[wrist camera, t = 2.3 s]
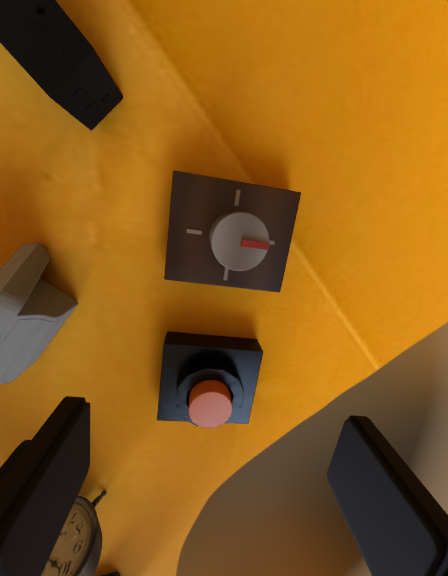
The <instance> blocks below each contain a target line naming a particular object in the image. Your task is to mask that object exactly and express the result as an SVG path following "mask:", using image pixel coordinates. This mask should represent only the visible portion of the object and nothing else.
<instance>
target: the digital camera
mask: <svg viewBox="0 0 448 576" xmlns="http://www.w3.org/2000/svg"><path fill="white" fill-rule="evenodd" d="M0 43H1V44H2V45H3V46H4V47H5V48H6V49H7V50H8V51H9V53H10V54H11V55H12V56H13V57H14V58H15V59H16V60H17V61H18V62H19V64H20V65H21V66H22V67H23V68H24V69H25V70H26V71H27V72H28V74H29V75H30V76H31V77H32V78H33V79H34V80H35V81H36V82H37V83H38V85H39V86H40V87H41V88H42V89H43V90H44V91H45V92H46V93H47V95H48V96H49V97H50V98H52V99H53V100H54V101H55V102H56V103H58V104H59V105H60V106H61V107H63V108H64V109H65V110H66V111H68V112H69V113H70V114H71V115H73V116H74V117H75V118H76V119H77V120H79V121H80V122H81V123H82V124H84V125H85V126H86V127H87V128H89V129H90V130H91V131H92V130H93V129H94V128H95V127H96V126H97V125H98V123H99V122H100V121H101V120H102V119H103V118H104V117H105V116H106V115H107V114H108V113H109V112H110V111H111V110H112V109H113V108H114V107H115V106H116V105H117V104H118V103H119V102H120V101H121V100H122V99H123V95H122V94H121V92H120V90H119V89H118V87H117V85H116V84H115V82H114V81H113V79H112V77H111V76H110V74H109V72H108V71H107V69H106V68H105V66H104V64H103V63H102V61H101V60H100V58H99V56H98V55H97V53H96V51H95V50H94V48H93V47H92V46H91V44H90V43H89V42H88V41H87V39H86V38H85V37H84V36H83V34H82V33H81V32H80V31H79V29H78V28H77V27H76V26H75V24H74V23H73V22H72V21H71V20H70V18H69V17H68V16H67V15H66V13H65V12H64V11H63V10H62V8H61V7H60V6H59V5H58V3H57V2H56V1H55V0H0Z"/></svg>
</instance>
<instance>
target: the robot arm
mask: <svg viewBox="0 0 448 576" xmlns="http://www.w3.org/2000/svg"><path fill="white" fill-rule="evenodd" d="M89 465H90V403H87V402H86V401H85V398H83V397H68V396H67V397H65V398H64V399H63V400H62V401H61V402H60V404H59V405H58V406H57V408H56V409H55V410H54V411H53V413H52V414H51V415H50V417H49V418H48V419H47V421H46V422H45V423H44V424H43V426H42V427H41V428H40V430H39V431H38V432H37V434H36V435H35V436H34V438H33V439H32V440H25V441H24V442H22V443H21V444H20V445H19V446H18V447H17V448H16V449H15V450H14V452H13V453H12V454H11V455H10V457H9V458H8V459H7V460H6V461H5V463H4V464H3V465H2V466H1V468H0V576H41V575H42V573H43V571H44V568H45V566H46V564H47V562H48V560H49V557H50V555H51V553H52V551H53V549H54V546H55V544H56V542H57V540H58V537H59V535H60V533H61V531H62V529H63V526H64V524H65V522H66V520H67V518H68V515H69V513H70V511H71V509H72V506H73V504H74V502H75V500H76V498H77V495H78V493H79V491H80V489H81V487H82V484H83V482H84V480H85V478H86V475H87V473H88V470H89ZM327 477H328V482H329V484H330V486H331V489H332V491H333V493H334V495H335V497H336V499H337V501H338V504H339V506H340V508H341V510H342V512H343V514H344V516H345V519H346V521H347V523H348V525H349V527H350V529H351V531H352V534H353V536H354V538H355V540H356V542H357V544H358V546H359V549H360V551H361V553H362V555H363V557H364V559H365V561H366V564H367V566H368V568H369V570H370V572H371V574H372V576H448V515H447V514H446V512H445V511H444V510H443V509H442V507H441V506H440V505H439V504H438V502H437V501H436V500H435V499H434V498H433V496H432V495H431V494H430V493H429V491H428V490H427V489H426V488H425V487H424V485H423V484H422V483H421V482H420V480H419V479H418V478H417V477H416V476H415V474H414V473H413V472H412V471H411V469H410V468H409V467H408V466H407V464H406V463H405V462H404V461H403V459H402V458H401V457H400V456H399V455H398V454H397V452H396V451H395V450H394V448H393V447H392V446H391V445H390V444H389V442H388V441H387V440H386V439H385V437H384V436H383V435H382V434H381V432H380V431H379V430H378V429H377V428H376V427H375V425H374V424H373V423H372V422H371V420H370V419H369V418H367V417H366V416H350V417H349V418H348V419H347V420H345V422H344V425H343V428H342V431H341V433H340V437H339V439H338V442H337V445H336V448H335V451H334V454H333V457H332V460H331V463H330V466H329V468H328V472H327Z"/></svg>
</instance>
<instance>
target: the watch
mask: <svg viewBox="0 0 448 576" xmlns="http://www.w3.org/2000/svg"><path fill="white" fill-rule="evenodd" d="M102 576H120V574H119V572H115V573H111V574H107V575H102Z"/></svg>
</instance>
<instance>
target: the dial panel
mask: <svg viewBox="0 0 448 576" xmlns="http://www.w3.org/2000/svg"><path fill="white" fill-rule="evenodd" d="M300 195H301V192H296V191H290V190H284V189H278V188H272V187H266V186H261V185H255V184H249V183H243V182H237V181H231V180H226V179H220V178H214V177H208V176H202V175H196V174H191V173H185V172H179V171H173V180H172V192H171V204H170V216H169V228H168V240H167V252H166V265H165V277H164V279H165V280H174V281H183V282H191V283H200V284H209V285H218V286H227V287H236V288H244V289H253V290H262V291H271V292H280V290H281V286H282V281H283V276H284V271H285V267H286V262H287V257H288V252H289V248H290V243H291V238H292V233H293V229H294V224H295V219H296V214H297V210H298V205H299V200H300ZM235 212H246V213H250V214H253V215H254V216H256V217H258V218H259V219H260V220H261V221H262V222H263V223H264V225H265V227H266V229H267V231H268V235H269V243H270V245H269V250H267V253H266V255H265V257H264V258H263V260H262V261H261V262H260V263H259V264H258V265H256V266H255V267H253V268H251V269H248V270H244V271H235V270H231V269H228V268H226V267H225V266H223V265H222V264H221V263H220V262H219V261H218V260H217V259H216V257H215V255H214V253H213V251H212V248H211V246H210V243H209V231H210V228H211V226H212V224H213V222H214V221H215V220H216V219H217V218H218V217H220V216H222V215H224V214H228V213H235Z"/></svg>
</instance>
